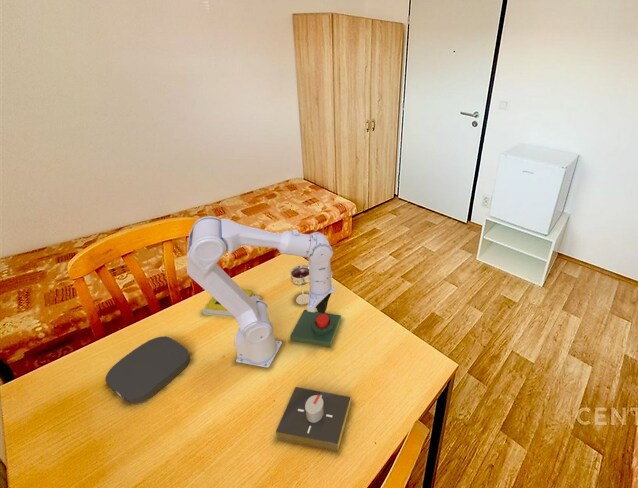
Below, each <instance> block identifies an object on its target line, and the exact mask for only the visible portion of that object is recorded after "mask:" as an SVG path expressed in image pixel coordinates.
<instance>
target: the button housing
mask: <svg viewBox="0 0 638 488" xmlns="http://www.w3.org/2000/svg"><path fill="white" fill-rule="evenodd" d="M321 314H326V315H328V317H329V324H328V325H327V326H326V327H324V328H320V327H318V326H317V322H316V319H317V317H318V316H319V315H321ZM341 321H342V316H341V315H340V314H334V313H328V312H325V313H319V312H318V311H317V310H316V311H315V312H309V311H307V309H303V311H302V313H301V314H300V317H299V319H298V321H297V322H296V324H295V326H294V328H293V330H292V332H291V334H290V342H295V343H300V344H308V345H313V346H319V347H324V348H331V347H332V345H333V343H334V340H335V337H336V335H337V331H338V330H339V326H340V324H341Z"/></svg>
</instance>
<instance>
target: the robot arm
mask: <svg viewBox="0 0 638 488" xmlns="http://www.w3.org/2000/svg"><path fill="white" fill-rule="evenodd" d="M242 246H245V247H246V246H248V247H259V248H270V249H276V250H278V252H279V253H280V254H281V255H287V256H294V257H301V258H308V266H309V279H310V282H309V288H308V289H309V291H308V295H309V302H308V303H307V305H306V310H307V311H309V312H315V311H316V312H319V313H326V311H327V308H328V303H329V300H330V298H331V295H332V294H334V293H335V291H336V287H335V286H334V285H333V279H332V278H333V276H334V275H333V274H334V273H333V270H332V269H331V267H332V266H331V258H333V255H334V251H333V248H332V246H331V244H330V242H329V240H328V237H327V236H326V235H325V233H324V234H323V233H322V232H319V231H315V232H311V233H301V232H299V230H298V229H292V231H291V230H284V231H283V232H281V233H277V232H273V231H269V230H265V229H261V228H257V227H252V226H249V225H244V224H240V223H237V222H235V221H233V220H231V219H229V218H219V217H216V216H213V215H212V216H211V215H209V216H208V215H207V216H203V217H200V218H198V219H197V220H196V221H195V222H194V224H193V225H192V227H191V230H190V231H189V233H188V243H187V250H186V251H187V252H186V273H187V275H188V276H189V277H190V278H191V279H192V280H193V281H194V282H196V283H197V284H198V285H199V286H200V287H201V288H202V289H203V290H204V291H206V293H208V294H209V295H210V296H211V298H212V297H213V298H215V299H216V300H217V301H218V302H219V303H220V304H221V305H222V306H223V307H225V308H226V309H227V310H228V311H229V312H230V313H231V314H232V315H233V316H235V318H234V319H235V320H236V323H237V325H238V328H237V331H236V333H235V336H234V340H233V341H234V348H235V352H236V356H237V357H236V360H235V362H236V363H239V364H245V365H250V366H256V367H260V368H261V367H262V368H270V367H271V365H272V363H273V361H274V359H275V357H276V355H277V354H278V351H279V350H280V348H281V346H282V344H283V341H281V340H278V339H277V340H276V338H275V332H274V325H273V322H272V321H271V320H270V316H269V310H268V303H267V302H266V301H264V300H261V299H260V300H258V299H257V298H256V297H255V296H252V297H249V296H248V295H247V294H246V293H245V292H244V291H243V290H242V289H243V288H242V287H240V285H238V283H237V282H236V281H235V280H234V279H232V278H231V276H230V275H228V273H227V272H226V271H224V269H223V268H222V267H221V266H220V265H219V264H218V262H219V261H220V260H221V259H222V258H223V256H224V255H225V254H226V251H227V254H228V255H231V254H233V253H235V251H237V250H238V249H239V248H240V247H242Z"/></svg>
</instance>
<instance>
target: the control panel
mask: <svg viewBox="0 0 638 488" xmlns="http://www.w3.org/2000/svg"><path fill="white" fill-rule="evenodd" d="M314 395H320V397H321V398H322V399H323V404H324V414H323V417H322V418H321V419H320V420H319V421H318V422H315V423H312V422H309V421H308V420H307V418H306V410H305V404H306V401H307V400H308V399H309V398H310V397H311V396H314ZM351 400H352V399H351V396H347V395H341V394H337V393H331V392H325V391H321V390H315V389H310V388H303V387H299V386H294V388H293V392H292V394H291V396H290V399H289V400H288V403H287V405H286V408H285V410H284V412H283V414H282V417H281V419H280V421H279V423H278V426H277V428H276V430H275V434H276V439H277V440H280V441H285V442H290V443H295V444H300V445H304V446H309V447H314V448H319V449H322V450H323V449H324V450H329V451H333V452H339V448H340V446H341V442H342V437H343V434H344V431H345V427H346V423H347V421H348V420H347V419H348V416H349V412H350V409H351V402H352V401H351Z"/></svg>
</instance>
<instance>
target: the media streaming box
mask: <svg viewBox="0 0 638 488" xmlns="http://www.w3.org/2000/svg"><path fill="white" fill-rule="evenodd" d="M190 361H191V356H190V353H189V350H188V349H187V348H186V347H185V346H184V345H183V344H181V343H180V342H178V341H177V340H175V339H173V338H171V337H169V336H158V337H154V338H152V339H149V340H147V341H145V342H144V343H142V344H141V345H139V346H138V347H136V348H135V349H133V350H132V351H130V352H129V353H126V355H125V356H123V357H122V358H121V359H119V361H117V362H116V363H115V364H114V365H112V366H111V368H109V370H108V371H107V373H106V376H105V382H106V385H107V386H108V388H109V389H110V390H111V391H112V392H113V393H115V394H116V395H117V396H118V397H119V398H120V399H122V400H123V401H124V402H126V403H128V404H130V405H137V404H142V403H143V402H146V401H147V400H149V399H151V398H152V397H154V396H155V394H157V393H158V392H159V391H160V390H162V389H163V388H164V387H165V386H167V385H168V384H170V383H171V382H172V380H174V379H175V378H176V377H177V376H178V375H180V374H181V373H182V372H183V371H184V370H185V369H186V368H187V367H188V365H189V363H190Z"/></svg>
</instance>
